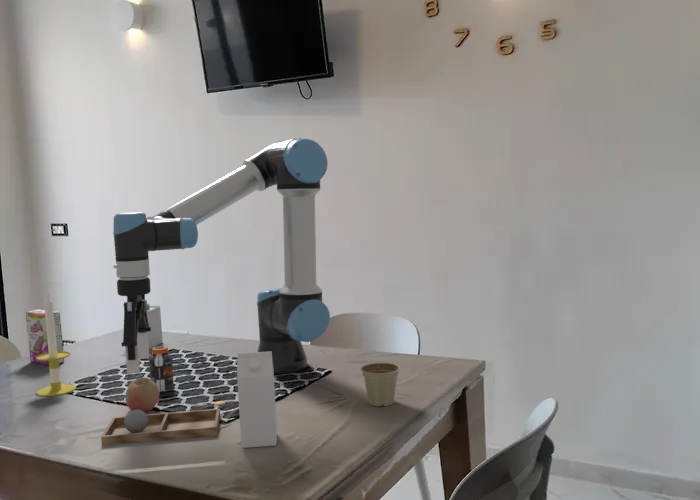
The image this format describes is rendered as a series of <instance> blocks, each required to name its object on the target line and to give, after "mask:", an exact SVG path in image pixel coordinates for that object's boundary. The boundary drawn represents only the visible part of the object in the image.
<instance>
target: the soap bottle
mask: <svg viewBox="0 0 700 500" xmlns="http://www.w3.org/2000/svg"><path fill="white" fill-rule="evenodd" d="M145 304H146V311H147V317H148V323H149V327H151V331H148V345H149V350H152V348H154V347H158V346H160V345H161V344H162V343H163V330H162V329H163V328H162V318H161V317H162V316H161V315H162V314H161V306H160V305H150V304H149V303H148V300H147V299H145ZM138 333H139V332H138Z"/></svg>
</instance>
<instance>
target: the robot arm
mask: <svg viewBox="0 0 700 500" xmlns="http://www.w3.org/2000/svg"><path fill="white" fill-rule="evenodd" d="M327 170H328V157H327V154H326V151H325V150H324V148H323V147H322V146H321V145H320V143H318V142H317V141H314V140H312V139H310V138H302V137H301V138H300V137H299V138H293V139H292V138H291V139H288V140H287V139H286V140H279V141H277V142H274V143H272V144H269V145H268V146H267V147H264V149H262V150H260V151H259V152H257V153H255V154H253V155H252V156H251V157H249V158H246V159H244V160H243V163H242V166H241V167H239V168H236V170H233V171H232V172H231V171H230V173H227V174H226V175H224V176H222V177H221V178H219V179H217V180H216V181H214V182H212V183H211V184H209V185H207V186H205V187H203V188H202V189H200V190H198V191H196V192H194V193H192V194H191V195H189V196H187V197H186V198H184V199H182V200H180V201H178V202H176V203H175V204H173V205H171V206H170V207H168V208H167V209H166V208H165V210H162V211H161V212H159V213H156V214H155V215H154V216H153V215H151V216H148V217H147V214H146V213H145V212H143V211H138V212H134V211H133V212H120V213H116V214H115V215H114V217H113V232H112V234H113V240H114V243H113V244H114V252H115V253H114V254H115V255H114V256H115V264H113V269H116V277H117V278H119V279H117V280H116V289H117V292H116V293H117V294H118V295H119V296H120V297H126V298H127V299H126V301H124V302H123V313H124V314H123V334H122V335H123V338H122V340H123V341H122V342H121V347H125V358H126V359H125V360H126V374H127V375H129V374H140V373H141V370H140V369H141V368H140V360H145V359H148V360H149V358H150V349H149V345H148V331H151V327H149V323H148V317H147V311H146V304H145V300H146V299H145V297H146V295H148V294H150V293H151V279H150V278H149V277H148V276H150V274H151V270H150V259H149V257H150V255H149V252H155V251H156V252H157V251H170V250H171V251H172V250H185V249H191V248H194V247H196V245H197V243H198V238H199V237H198V236H199V230H198V227H197V225H199V224H201V223H202V222H204V221H206V220H208V219H209V218H211V217H213V216H214V215H216V214H218V213H220V212H222V211H223V210H225V209H226V208H228V207H230V206H232V205H233V204H235V203H237V202H238V201H240V200H242V199H243V198H245V197H247V196H249V195H250V194H252V193H254V192H255V191H259V192H263V191H265V190H266V189H269V188H271V187H273V186H276V191H277V192H278V193H279V194H280V195H281V197H282V213H283V214H282V215H283V216H282V218H283V219H282V220H283V261H284V263H283V265H284V267H283V268H284V270H283V271H284V284H283V286H282V287H280V288H278V287H277V288H273V289H272V288H271V289H264V290H261V291H259V292H258V294H257V302H256V305H257V316H258V317H257V319H258V331H259V332H258V334H259V345H258V348H257V351H256V352H270V351H272V360H273V370H274V374H286V373H287V374H289V373H294V372H298V371H301V370H303V369H306V367H307V366H308V356H307V354H306V352H305V348H304V347H303V344H302V342H304V343H309V342H311V343H312V342H314V341H317V340H318V339H320V338H321V337H322V336H323V335H324V334H325V333H326V332H327V330H328V328H329V325H330V322H331V314H330V310H329V308H328V306H327V305H326V304H325V303H324V302H323V290H322V288H320V286H319V285H318V284H317V254H316V253H317V252H316V247H317V244H316V243H317V242H316V240H317V239H316V199H315V198H316V195H317V194H318V192H320V191H321V179H323V177H324V176H325V175H326V173H327ZM138 332H139V333H138Z"/></svg>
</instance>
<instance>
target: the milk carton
mask: <svg viewBox="0 0 700 500" xmlns="http://www.w3.org/2000/svg"><path fill="white" fill-rule="evenodd" d="M236 359H237V363H236V364H237V365H236V366H237V369H236V381H237V393H238V394H237V395H238V397H237V398H238V408H239V409H238V411H239V427H240V428H239V429H240V431H239V432H240V444H241V448H242V449H244V448H245V449H247V448H258V447H259V448H260V447H272V446H273V447H274V446H277V439H278V438H277V436H278V428H277V427H278V426H277V410H276V409H277V408H276V406H277V405H276V395H275V394H276V392H275V390H276V389H275V375H274V370H273V360H272V351H270V352H257V351H255V352H244V353H241V352H240V353H239V352H238V353H237V357H236Z"/></svg>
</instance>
